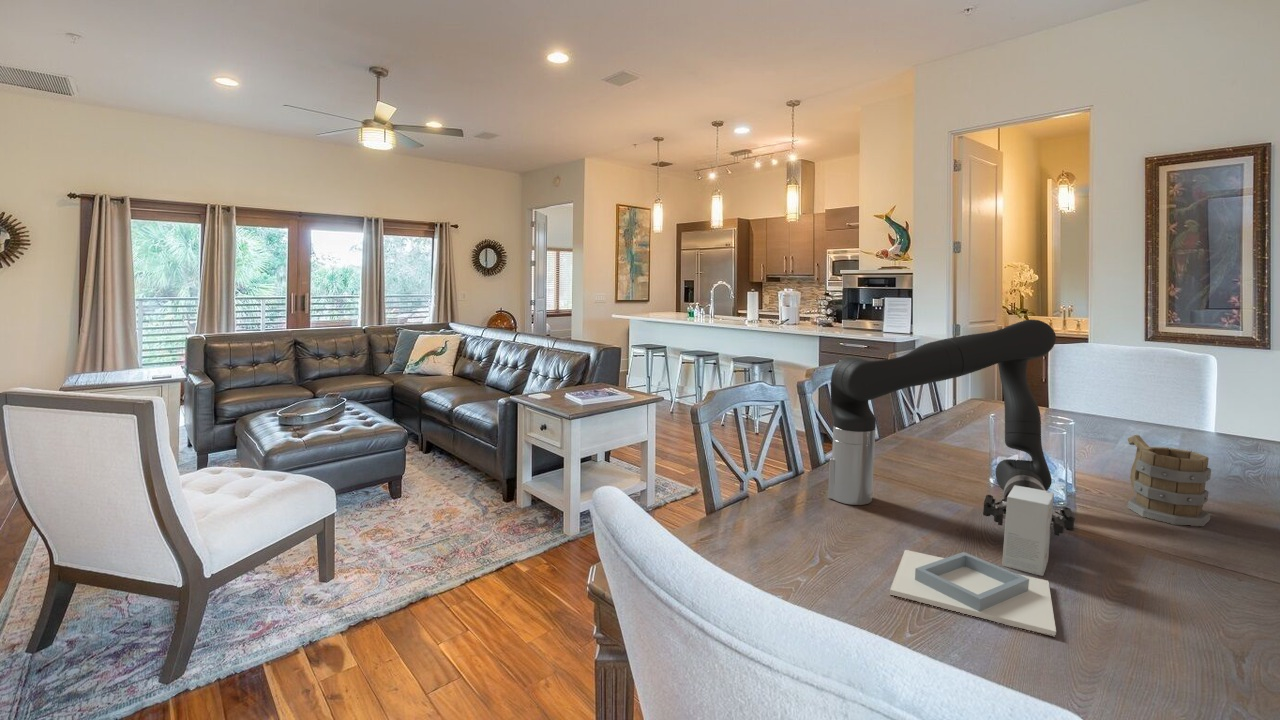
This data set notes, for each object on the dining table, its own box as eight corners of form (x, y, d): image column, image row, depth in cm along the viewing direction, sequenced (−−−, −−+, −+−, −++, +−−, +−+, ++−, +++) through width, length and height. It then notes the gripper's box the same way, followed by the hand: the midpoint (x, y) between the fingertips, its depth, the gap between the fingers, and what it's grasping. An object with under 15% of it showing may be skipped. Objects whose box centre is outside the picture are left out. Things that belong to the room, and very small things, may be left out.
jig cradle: (889, 595, 95) (890, 577, 94) (904, 554, 109) (905, 539, 109) (1055, 638, 83) (1057, 618, 83) (1047, 586, 98) (1049, 569, 97)
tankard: (1223, 528, 121) (1232, 458, 119) (1154, 524, 123) (1162, 455, 122) (1156, 494, 141) (1164, 434, 139) (1098, 491, 143) (1104, 431, 141)
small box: (1008, 550, 111) (1013, 484, 109) (1048, 560, 107) (1055, 491, 105) (1000, 565, 105) (1006, 496, 103) (1043, 577, 101) (1050, 504, 99)
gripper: (986, 474, 122) (984, 497, 109) (1070, 486, 115) (1079, 513, 101) (983, 508, 123) (981, 536, 109) (1066, 522, 116) (1075, 554, 102)
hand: (1028, 525), depth 105 cm, fingers open, 8 cm apart
